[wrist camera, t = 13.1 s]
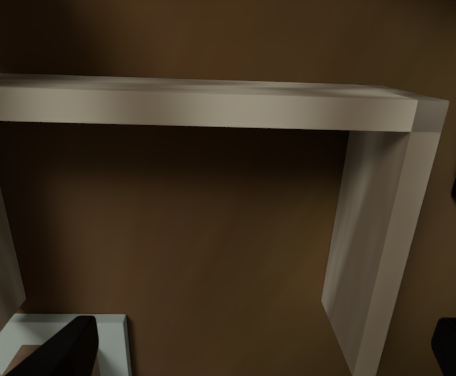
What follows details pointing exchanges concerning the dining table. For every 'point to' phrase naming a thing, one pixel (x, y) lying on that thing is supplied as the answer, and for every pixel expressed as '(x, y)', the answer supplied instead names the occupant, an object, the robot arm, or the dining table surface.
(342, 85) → the wooden u-shaped frame
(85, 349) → the robot arm
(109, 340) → the tile
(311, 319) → the dining table surface
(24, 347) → the block
